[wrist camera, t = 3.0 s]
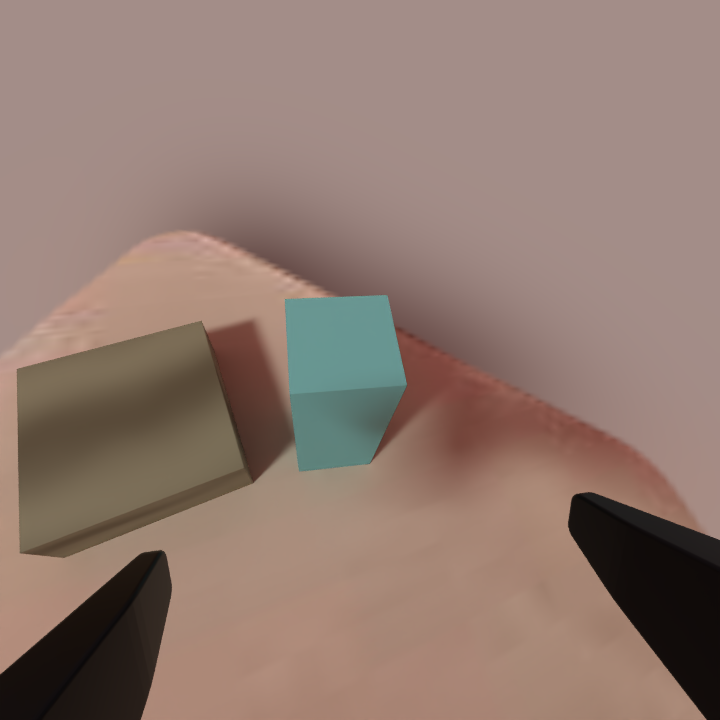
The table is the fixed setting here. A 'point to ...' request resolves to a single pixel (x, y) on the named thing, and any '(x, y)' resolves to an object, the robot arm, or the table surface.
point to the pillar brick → (341, 377)
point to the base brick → (122, 439)
